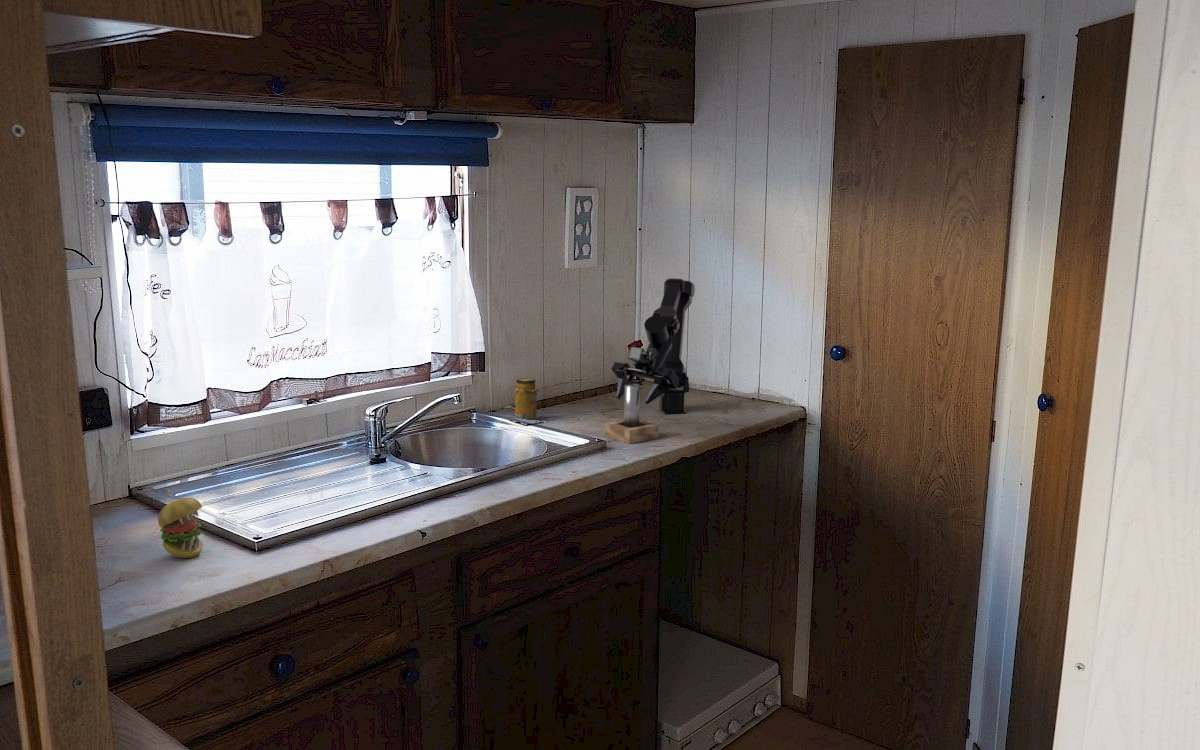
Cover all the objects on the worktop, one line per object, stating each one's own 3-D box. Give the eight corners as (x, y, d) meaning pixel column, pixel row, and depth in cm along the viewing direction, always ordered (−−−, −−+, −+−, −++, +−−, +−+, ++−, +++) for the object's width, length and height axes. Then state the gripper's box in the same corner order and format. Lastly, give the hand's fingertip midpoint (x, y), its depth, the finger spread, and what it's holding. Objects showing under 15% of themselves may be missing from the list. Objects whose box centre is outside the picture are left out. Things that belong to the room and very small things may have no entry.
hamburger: (188, 564, 179) (184, 498, 176) (151, 561, 180) (146, 495, 178) (213, 549, 186) (209, 485, 184) (177, 546, 187) (172, 483, 185)
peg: (634, 434, 274) (635, 383, 271) (641, 437, 270) (642, 385, 268) (621, 436, 272) (622, 384, 269) (628, 439, 268) (629, 387, 266)
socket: (633, 430, 278) (633, 418, 277) (658, 438, 270) (658, 425, 270) (604, 436, 272) (605, 423, 271) (629, 443, 264) (629, 430, 264)
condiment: (529, 417, 293) (528, 376, 291) (546, 422, 286) (546, 380, 284) (507, 420, 288) (507, 378, 286) (525, 426, 282) (525, 383, 280)
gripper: (615, 332, 276) (590, 378, 269) (674, 339, 265) (649, 387, 258) (631, 356, 284) (607, 402, 277) (689, 364, 273) (666, 412, 266)
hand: (631, 400), depth 269 cm, fingers open, 9 cm apart
